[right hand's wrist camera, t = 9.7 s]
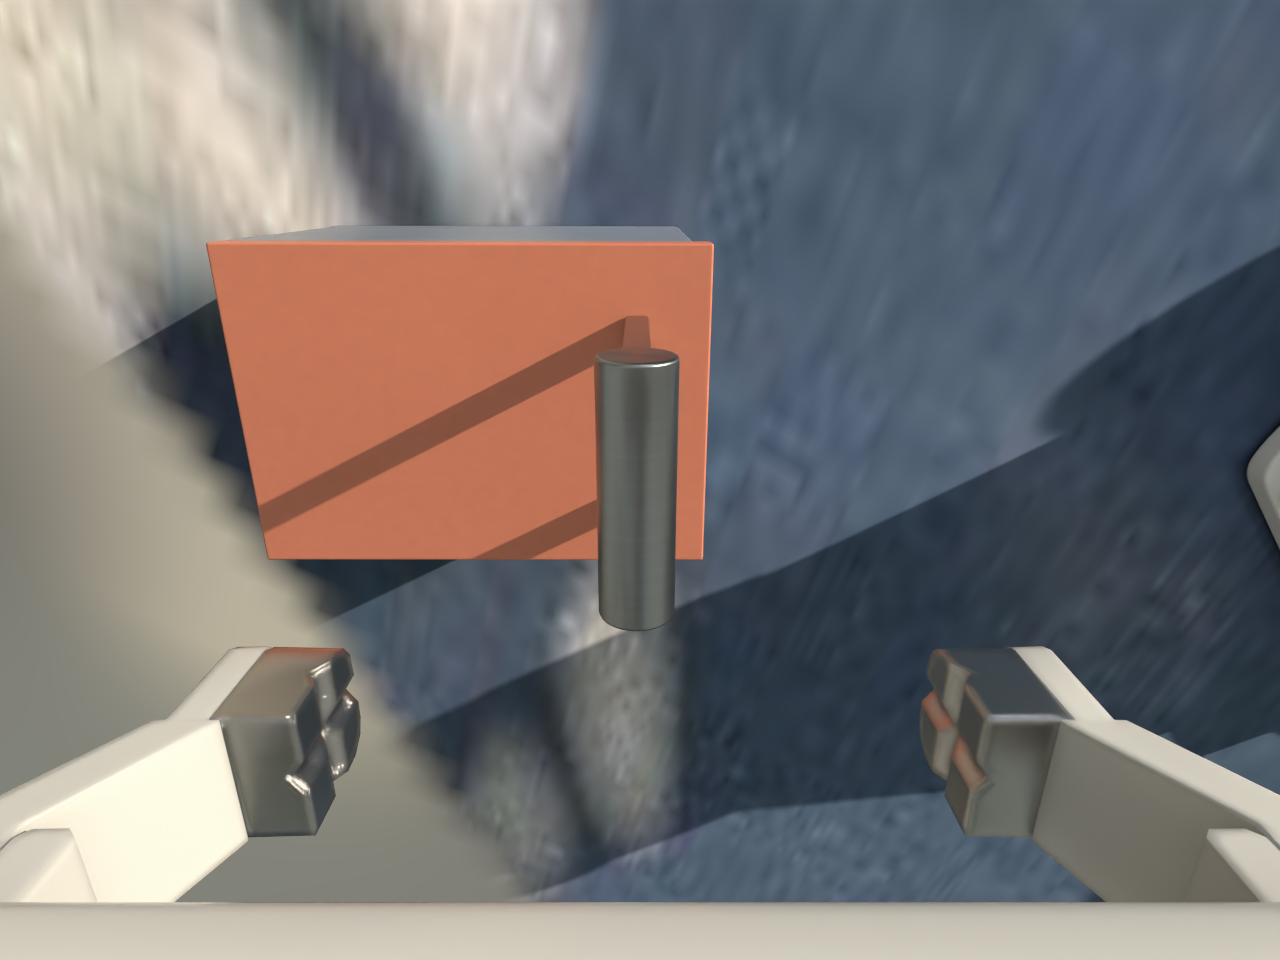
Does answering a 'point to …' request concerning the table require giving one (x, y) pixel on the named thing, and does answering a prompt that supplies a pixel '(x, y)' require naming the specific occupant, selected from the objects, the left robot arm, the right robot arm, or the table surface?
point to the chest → (482, 233)
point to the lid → (477, 402)
